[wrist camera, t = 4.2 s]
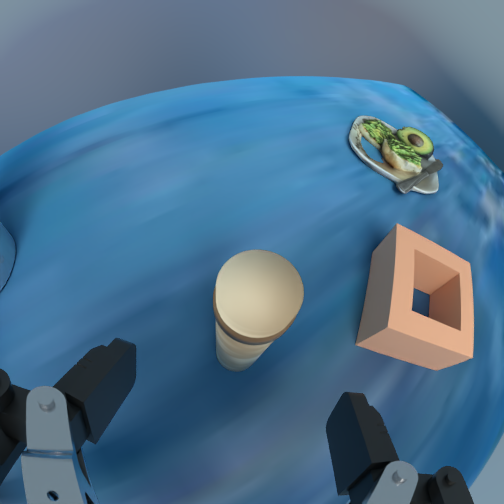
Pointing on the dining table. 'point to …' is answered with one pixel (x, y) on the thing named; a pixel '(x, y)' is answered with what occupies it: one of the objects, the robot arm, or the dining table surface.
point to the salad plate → (398, 154)
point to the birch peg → (253, 305)
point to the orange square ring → (401, 296)
